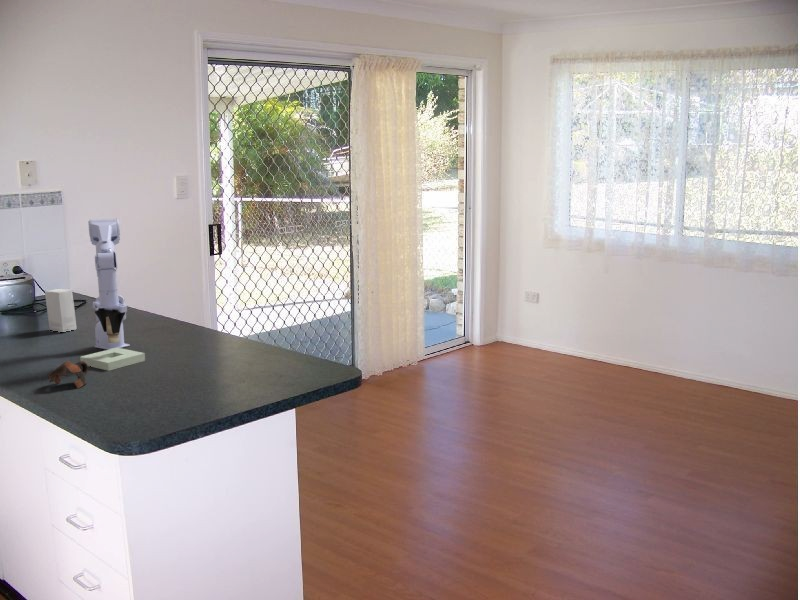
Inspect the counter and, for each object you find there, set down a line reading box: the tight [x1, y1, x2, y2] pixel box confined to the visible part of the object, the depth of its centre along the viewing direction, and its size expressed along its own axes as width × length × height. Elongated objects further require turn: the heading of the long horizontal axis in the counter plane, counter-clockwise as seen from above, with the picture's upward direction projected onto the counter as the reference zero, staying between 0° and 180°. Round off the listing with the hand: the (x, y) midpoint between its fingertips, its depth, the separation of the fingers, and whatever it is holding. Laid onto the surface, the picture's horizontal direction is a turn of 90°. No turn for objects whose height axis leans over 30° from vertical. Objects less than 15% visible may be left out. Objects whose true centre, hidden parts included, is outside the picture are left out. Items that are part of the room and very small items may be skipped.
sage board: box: [79, 348, 146, 371], centre depth 267 cm, size 14×14×2 cm
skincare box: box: [44, 288, 78, 333], centre depth 311 cm, size 8×7×16 cm
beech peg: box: [106, 317, 120, 343], centre depth 265 cm, size 4×4×8 cm
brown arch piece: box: [47, 360, 89, 389], centre depth 243 cm, size 12×10×8 cm
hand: (111, 332), depth 265 cm, fingers closed on beech peg, 4 cm apart
